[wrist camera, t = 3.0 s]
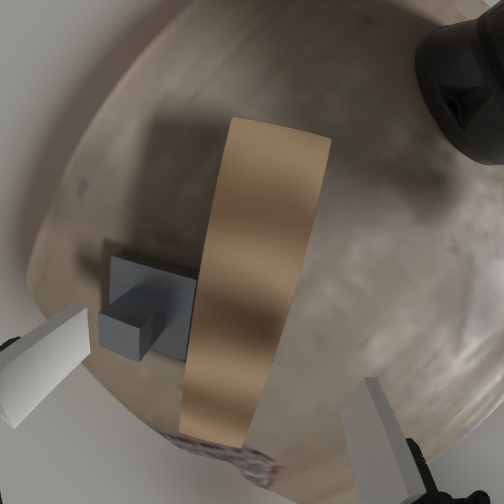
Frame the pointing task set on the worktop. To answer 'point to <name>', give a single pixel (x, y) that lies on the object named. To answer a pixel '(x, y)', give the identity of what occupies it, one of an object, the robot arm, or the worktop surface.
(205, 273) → the plank
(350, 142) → the worktop surface
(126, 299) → the fulcrum
